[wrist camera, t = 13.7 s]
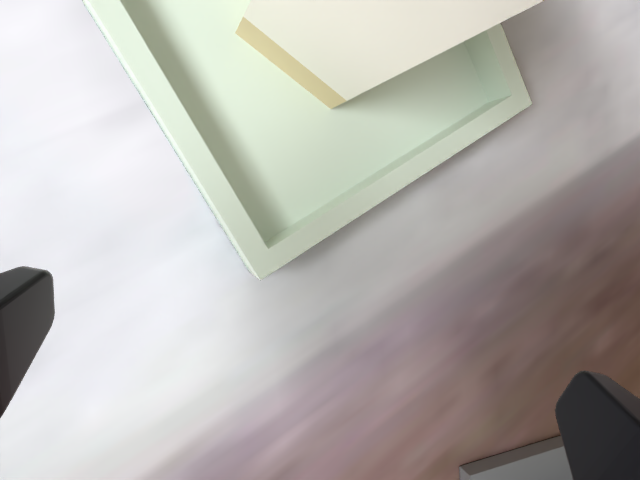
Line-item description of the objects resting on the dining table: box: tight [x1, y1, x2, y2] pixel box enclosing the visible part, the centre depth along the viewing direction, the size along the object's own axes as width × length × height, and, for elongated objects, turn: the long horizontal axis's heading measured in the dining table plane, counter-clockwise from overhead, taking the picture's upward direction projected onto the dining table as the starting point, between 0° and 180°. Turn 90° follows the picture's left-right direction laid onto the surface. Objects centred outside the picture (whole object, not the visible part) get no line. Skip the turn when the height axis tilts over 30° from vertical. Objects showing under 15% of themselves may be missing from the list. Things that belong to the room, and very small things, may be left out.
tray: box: [82, 0, 532, 281], centre depth 17 cm, size 14×14×2 cm
